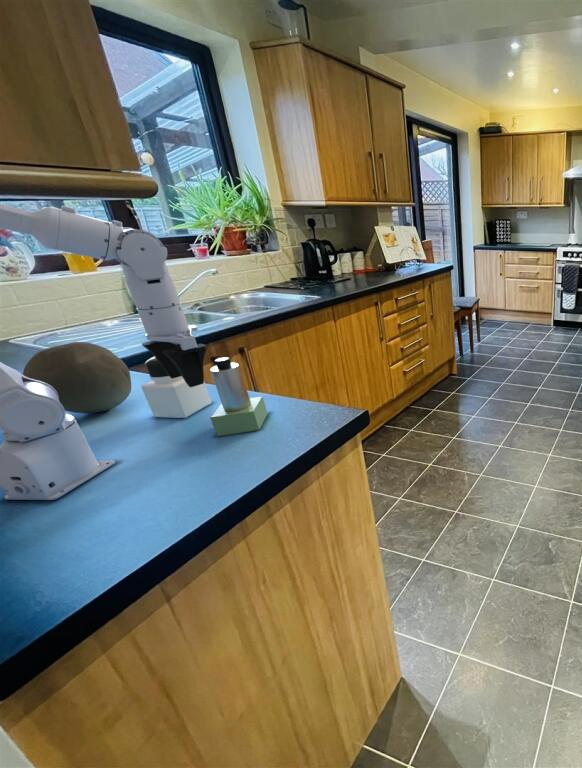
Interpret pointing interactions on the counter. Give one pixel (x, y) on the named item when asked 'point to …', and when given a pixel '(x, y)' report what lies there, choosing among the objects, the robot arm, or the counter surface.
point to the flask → (230, 385)
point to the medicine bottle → (172, 393)
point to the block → (240, 418)
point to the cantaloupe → (82, 376)
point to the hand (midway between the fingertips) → (187, 380)
